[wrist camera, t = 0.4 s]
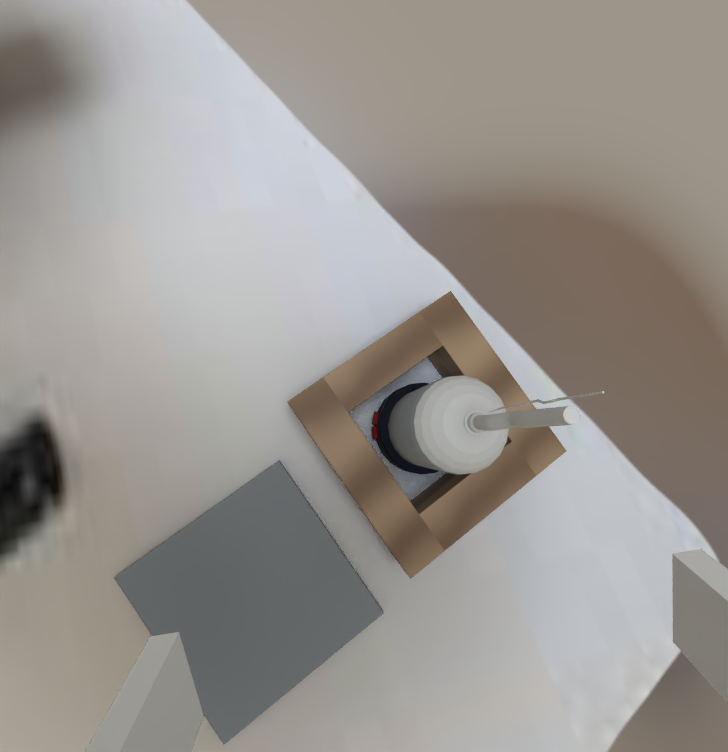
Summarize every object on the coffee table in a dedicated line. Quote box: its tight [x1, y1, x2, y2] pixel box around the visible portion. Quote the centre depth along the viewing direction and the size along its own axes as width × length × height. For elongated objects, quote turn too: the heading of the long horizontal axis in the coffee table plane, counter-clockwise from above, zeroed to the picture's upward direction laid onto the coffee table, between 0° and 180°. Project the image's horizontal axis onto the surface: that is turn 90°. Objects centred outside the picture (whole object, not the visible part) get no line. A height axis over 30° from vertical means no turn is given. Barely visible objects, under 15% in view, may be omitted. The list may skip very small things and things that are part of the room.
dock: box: [288, 291, 566, 579], centre depth 39 cm, size 17×17×5 cm
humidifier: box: [372, 376, 604, 475], centre depth 29 cm, size 8×8×25 cm
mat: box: [114, 461, 383, 744], centre depth 37 cm, size 16×16×1 cm
